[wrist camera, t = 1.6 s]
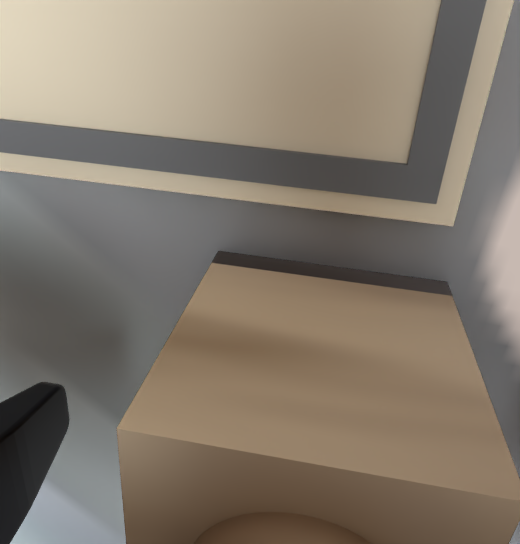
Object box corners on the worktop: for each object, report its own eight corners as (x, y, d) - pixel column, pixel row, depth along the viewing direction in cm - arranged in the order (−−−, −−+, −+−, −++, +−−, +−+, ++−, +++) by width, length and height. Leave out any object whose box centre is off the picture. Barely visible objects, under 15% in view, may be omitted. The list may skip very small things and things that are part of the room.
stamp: (399, 448, 12) (443, 826, 6) (212, 416, 12) (100, 739, 7) (446, 280, 10) (574, 626, 4) (218, 250, 10) (62, 522, 5)
